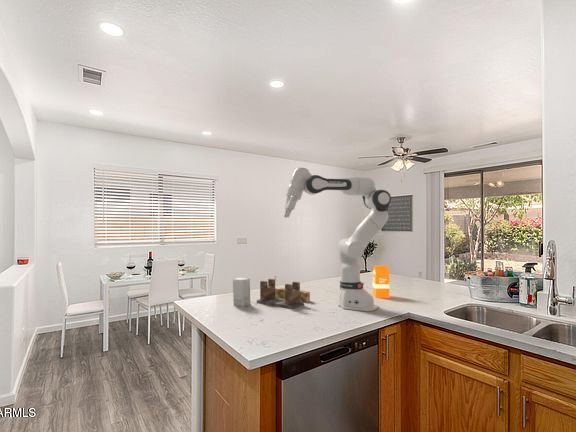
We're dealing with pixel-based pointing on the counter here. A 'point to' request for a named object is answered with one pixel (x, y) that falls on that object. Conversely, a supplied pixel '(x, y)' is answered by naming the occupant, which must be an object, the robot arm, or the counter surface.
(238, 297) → the skincare box
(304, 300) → the oak rail
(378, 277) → the orange juice
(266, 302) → the slotted posts
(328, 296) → the counter surface
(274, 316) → the counter surface
